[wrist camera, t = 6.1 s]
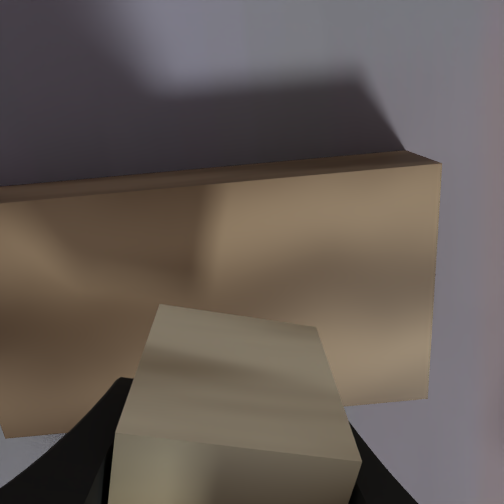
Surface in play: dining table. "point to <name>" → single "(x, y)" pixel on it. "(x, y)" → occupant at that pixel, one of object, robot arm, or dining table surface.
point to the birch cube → (232, 416)
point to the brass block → (216, 273)
